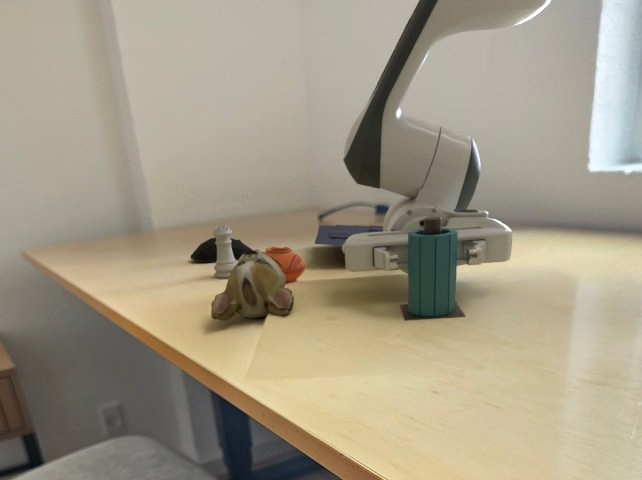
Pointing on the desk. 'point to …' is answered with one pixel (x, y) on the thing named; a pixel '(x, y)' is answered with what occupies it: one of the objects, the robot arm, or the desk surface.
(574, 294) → the desk surface
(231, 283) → the ceramic sculpture
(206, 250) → the gaming mouse
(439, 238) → the teal grooved cylinder
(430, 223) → the stand
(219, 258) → the rook chess piece
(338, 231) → the papers
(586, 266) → the desk surface
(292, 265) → the pot
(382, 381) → the desk surface
